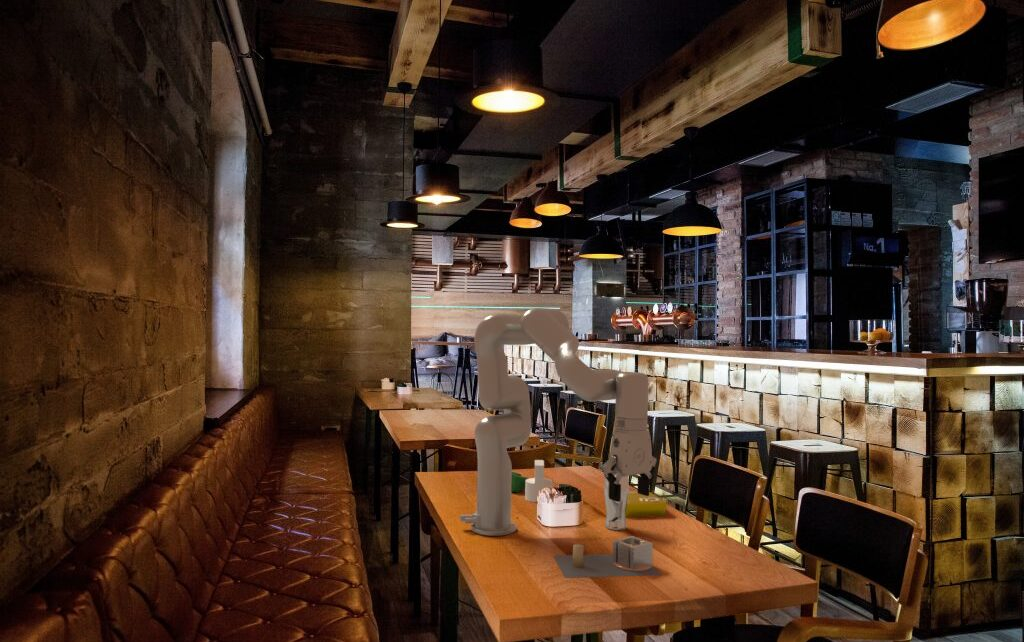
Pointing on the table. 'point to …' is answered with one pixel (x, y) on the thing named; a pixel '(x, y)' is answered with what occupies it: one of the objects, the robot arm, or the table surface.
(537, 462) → the cylinder with rectangular tab
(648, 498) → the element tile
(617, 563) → the peg on flat base
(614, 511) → the beer glass
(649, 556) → the steel collar
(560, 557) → the stand board
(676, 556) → the table surface
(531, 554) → the table surface
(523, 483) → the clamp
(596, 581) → the table surface
